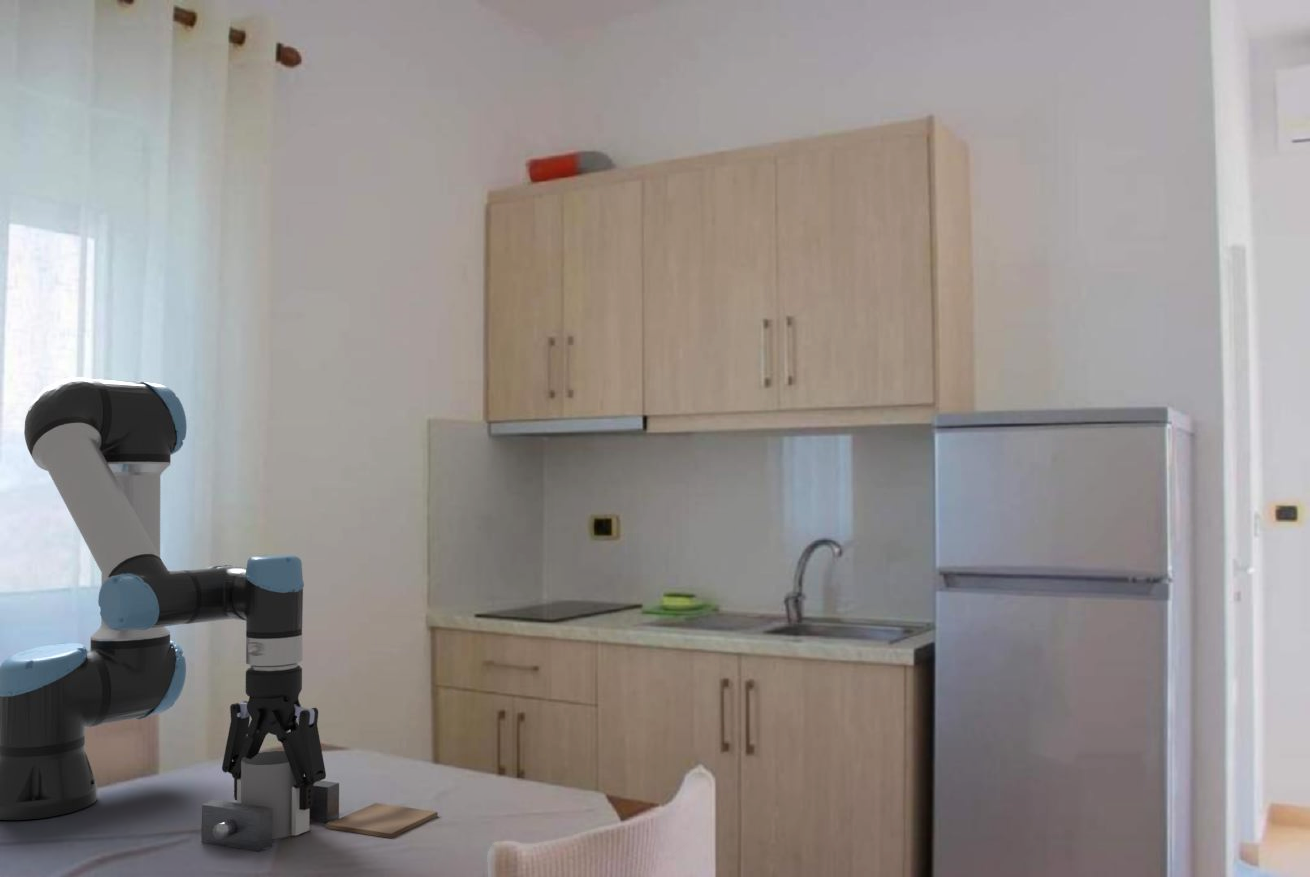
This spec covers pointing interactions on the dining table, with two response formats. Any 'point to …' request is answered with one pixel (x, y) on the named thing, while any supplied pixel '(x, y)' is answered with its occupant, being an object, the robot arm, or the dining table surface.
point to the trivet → (382, 820)
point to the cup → (269, 788)
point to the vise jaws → (259, 819)
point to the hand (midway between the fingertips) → (272, 828)
